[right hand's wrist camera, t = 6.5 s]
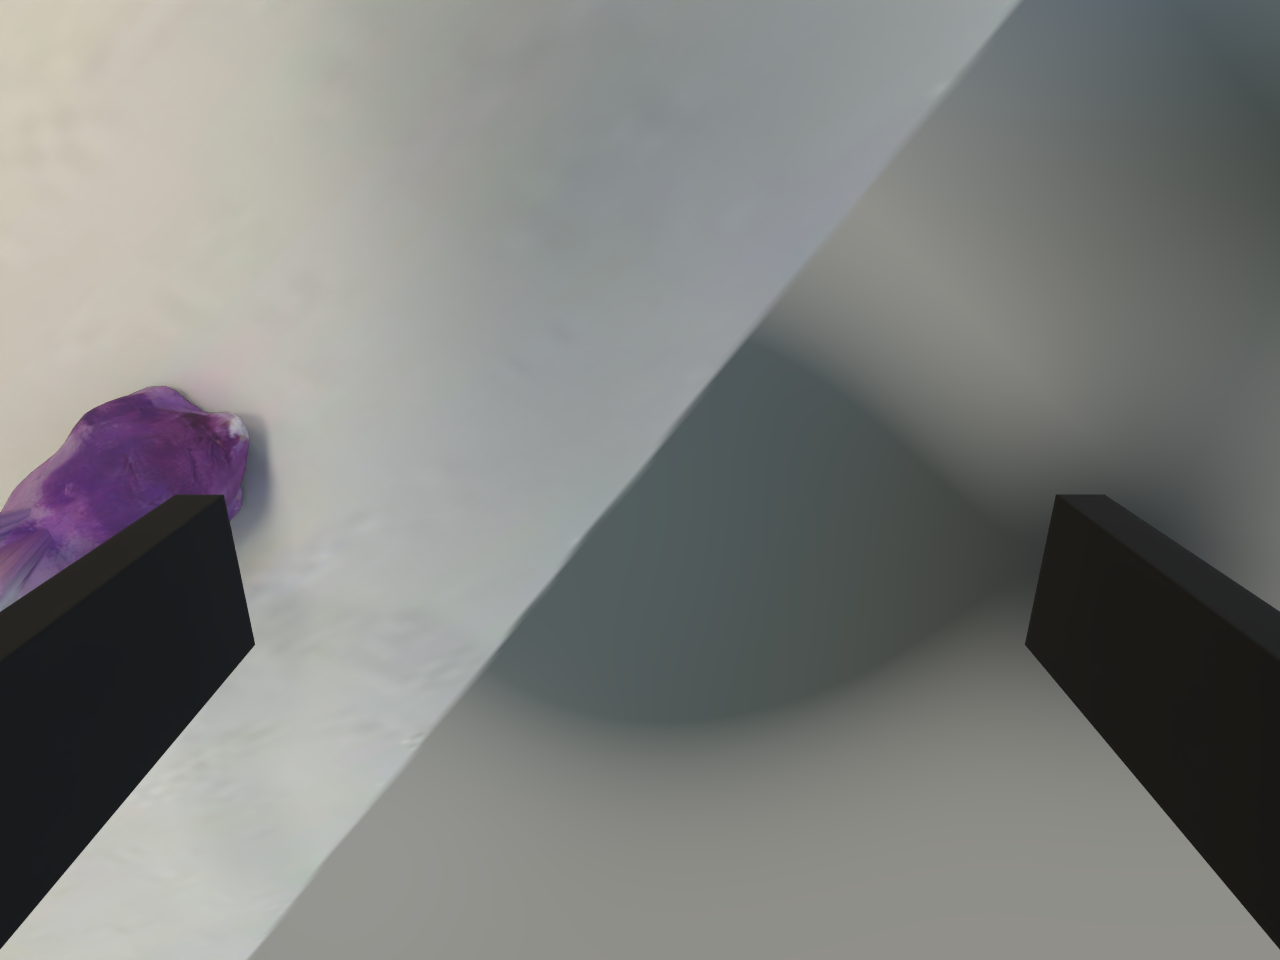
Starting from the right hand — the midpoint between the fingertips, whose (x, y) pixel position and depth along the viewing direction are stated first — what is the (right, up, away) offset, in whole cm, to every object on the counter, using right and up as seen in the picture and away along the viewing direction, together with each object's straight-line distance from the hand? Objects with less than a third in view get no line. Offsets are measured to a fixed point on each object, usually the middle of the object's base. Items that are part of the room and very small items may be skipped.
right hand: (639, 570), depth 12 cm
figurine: (-25, +2, +29) cm, 39 cm away
